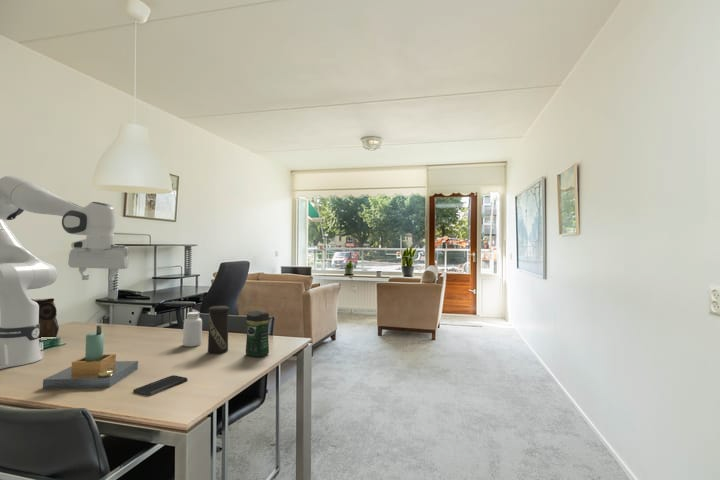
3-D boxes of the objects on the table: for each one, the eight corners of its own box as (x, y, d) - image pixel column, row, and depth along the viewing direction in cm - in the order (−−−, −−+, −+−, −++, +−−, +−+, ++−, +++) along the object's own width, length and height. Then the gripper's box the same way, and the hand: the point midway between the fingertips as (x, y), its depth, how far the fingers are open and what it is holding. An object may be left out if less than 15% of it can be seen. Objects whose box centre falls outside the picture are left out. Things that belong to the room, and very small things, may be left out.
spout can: (81, 371, 122) (83, 327, 123) (90, 367, 127) (92, 324, 128) (97, 371, 123) (98, 327, 123) (105, 366, 128) (107, 324, 128)
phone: (189, 378, 124) (148, 394, 110) (188, 381, 124) (148, 397, 110) (172, 374, 127) (131, 389, 113) (172, 378, 127) (131, 393, 113)
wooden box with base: (42, 389, 115) (43, 367, 115) (80, 370, 133) (80, 351, 133) (109, 387, 117) (110, 365, 117) (137, 369, 135) (138, 350, 135)
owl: (59, 338, 177) (60, 298, 178) (24, 343, 168) (26, 300, 168) (53, 334, 185) (55, 295, 186) (20, 339, 176) (21, 298, 176)
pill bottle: (194, 347, 165) (195, 314, 165) (178, 346, 166) (179, 313, 167) (205, 343, 173) (205, 311, 173) (190, 342, 174) (191, 310, 175)
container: (202, 353, 156) (203, 307, 156) (215, 347, 165) (216, 304, 165) (220, 355, 154) (221, 308, 154) (232, 349, 163) (233, 305, 163)
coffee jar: (272, 354, 156) (272, 311, 157) (258, 358, 149) (259, 313, 150) (256, 350, 161) (257, 309, 162) (242, 355, 154) (243, 311, 155)
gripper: (133, 245, 143) (131, 280, 143) (77, 243, 141) (75, 278, 141) (124, 245, 137) (122, 281, 136) (66, 243, 135) (64, 280, 135)
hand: (98, 280), depth 139 cm, fingers open, 8 cm apart
